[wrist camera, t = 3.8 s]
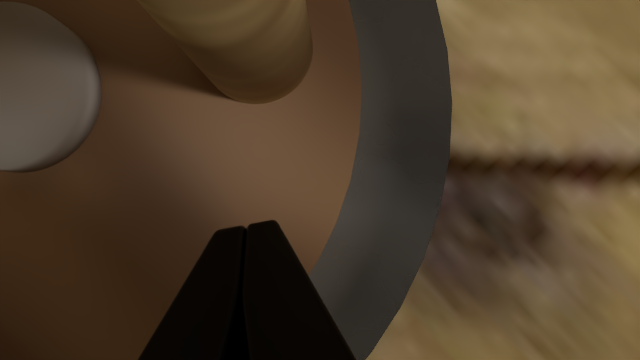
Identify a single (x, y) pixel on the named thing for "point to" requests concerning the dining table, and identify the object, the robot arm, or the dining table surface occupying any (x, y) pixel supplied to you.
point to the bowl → (389, 169)
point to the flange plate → (159, 153)
